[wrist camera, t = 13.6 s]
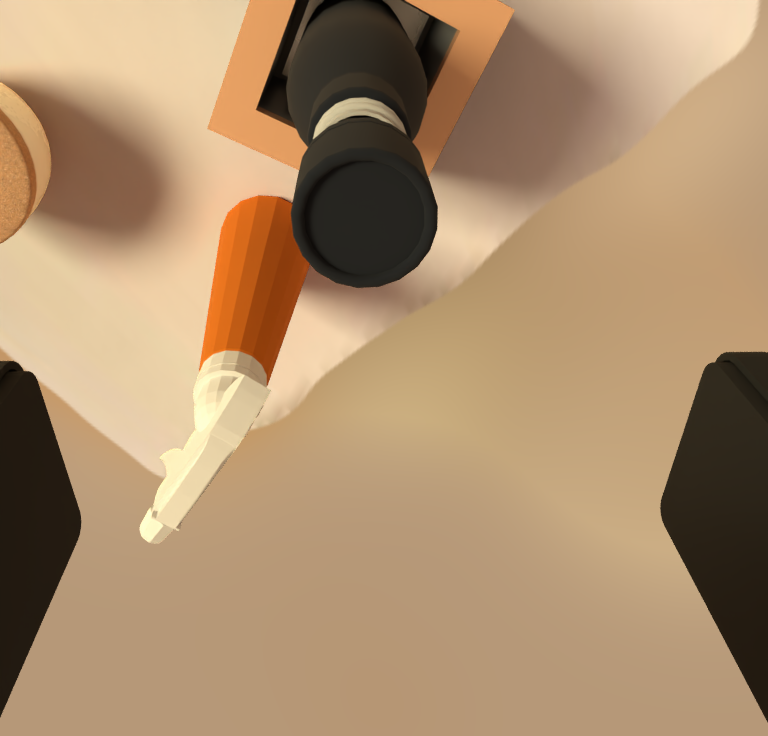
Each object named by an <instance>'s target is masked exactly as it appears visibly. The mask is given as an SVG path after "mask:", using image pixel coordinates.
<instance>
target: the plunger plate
mask: <svg viewBox="0 0 768 736" xmlns="http://www.w3.org/2000/svg"><path fill="white" fill-rule="evenodd" d="M323 1H324V0H309V2H308V5H307V8H306V10H305V13H304V16H303V18H302V21H301V24H300V26H299V29H298V32H297V34H296V37H295V40H294V43H293V45H292V48H291V51H290V53H289V56H288V59H287V61H286V64H285V67H284V69H283V72H282V74H283V75H285V76H287V77H288V75H289V70H290V65H291V62H292V59H293V57H294V54H295V52H296V49H297V47H298V44H299V42H300V39H301V37H302V35H303V32H304V30H305V27H306V25H307V23H308V21H309V19H310V17H311V15H312V14H313V12H314V10H315V8H317V7H318V6H319V5H320V4H321V3H322V2H323ZM383 1H384V2H385V3H387V4H388V5H389V6H390V7H391V9H392V10H393V12H394V13H395V14H396V16H397V17H398V19H399V20H400V22H401V24H402V26H403V28H404V30H405V31H406V33H407V35H408V37H409V39H410V41H411V42H412V44H413V46H414V48H415V46H416V44H417V41H418V39H419V37H420V35H421V33H422V31H423V28H424V26H425V24H426V22H427V20H428V18H429V15H428V14H426V13H425V12H423V11H421V10H419V9H417V8H415V7H414V6H412V5H410V4H408V3H406V2H405V1H403V0H383Z"/></svg>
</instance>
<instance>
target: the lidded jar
mask: <svg viewBox="0 0 768 736" xmlns="http://www.w3.org/2000/svg"><path fill="white" fill-rule="evenodd" d="M50 173H51V154H50V148H49V143H48V140H47V137H46V134H45V131H44V129H43V127H42V125H41V123H40V121H39V120H38V118H37V117H36V115H35V114H34V112H33V111H32V109H31V108H30V107H29V106H28V105H27V104H26V102H25V101H24V100H23V99H22V98H21V97H20V96H18V95H17V94H16V93H15V92H14V91H13V90H11V89H10V88H9V87H7V86H6V85H4V84H3V83H1V82H0V243H2V242H4V241H6V240H7V239H8V238H10V237H11V236H13V235H14V234H15V233H16V232H17V231H18V230H19V229H20V228H21V226H22V225H23V224H24V223H25V222H26V220H27V218H28V217H29V216H30V215H31V214H32V213H33V212H34V211H35V209H36V208H37V206H38V204H39V203H40V201H41V199H42V198H43V196H44V194H45V191H46V188H47V186H48V182H49V179H50Z"/></svg>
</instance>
